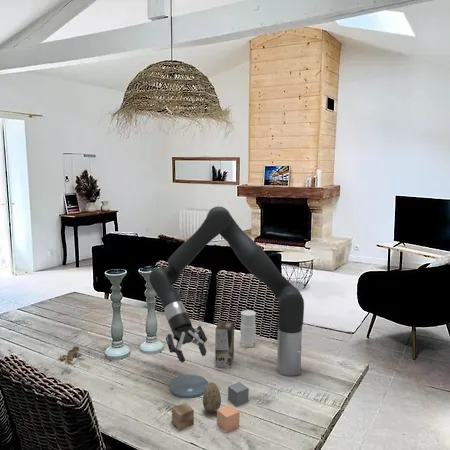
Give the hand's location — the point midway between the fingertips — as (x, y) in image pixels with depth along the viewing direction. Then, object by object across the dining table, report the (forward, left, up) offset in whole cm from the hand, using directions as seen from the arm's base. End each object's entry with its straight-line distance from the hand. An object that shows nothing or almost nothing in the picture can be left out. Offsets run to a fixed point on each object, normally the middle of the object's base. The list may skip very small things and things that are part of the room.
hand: (194, 358), depth 145 cm
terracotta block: (-15, +13, -14) cm, 24 cm away
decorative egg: (-8, +7, -14) cm, 18 cm away
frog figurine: (+58, -14, -15) cm, 62 cm away
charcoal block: (-15, -1, -14) cm, 21 cm away
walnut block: (-1, +15, -14) cm, 21 cm away
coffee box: (-4, -27, -14) cm, 31 cm away
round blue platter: (+4, -5, -14) cm, 15 cm away
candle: (-10, -46, -14) cm, 49 cm away
